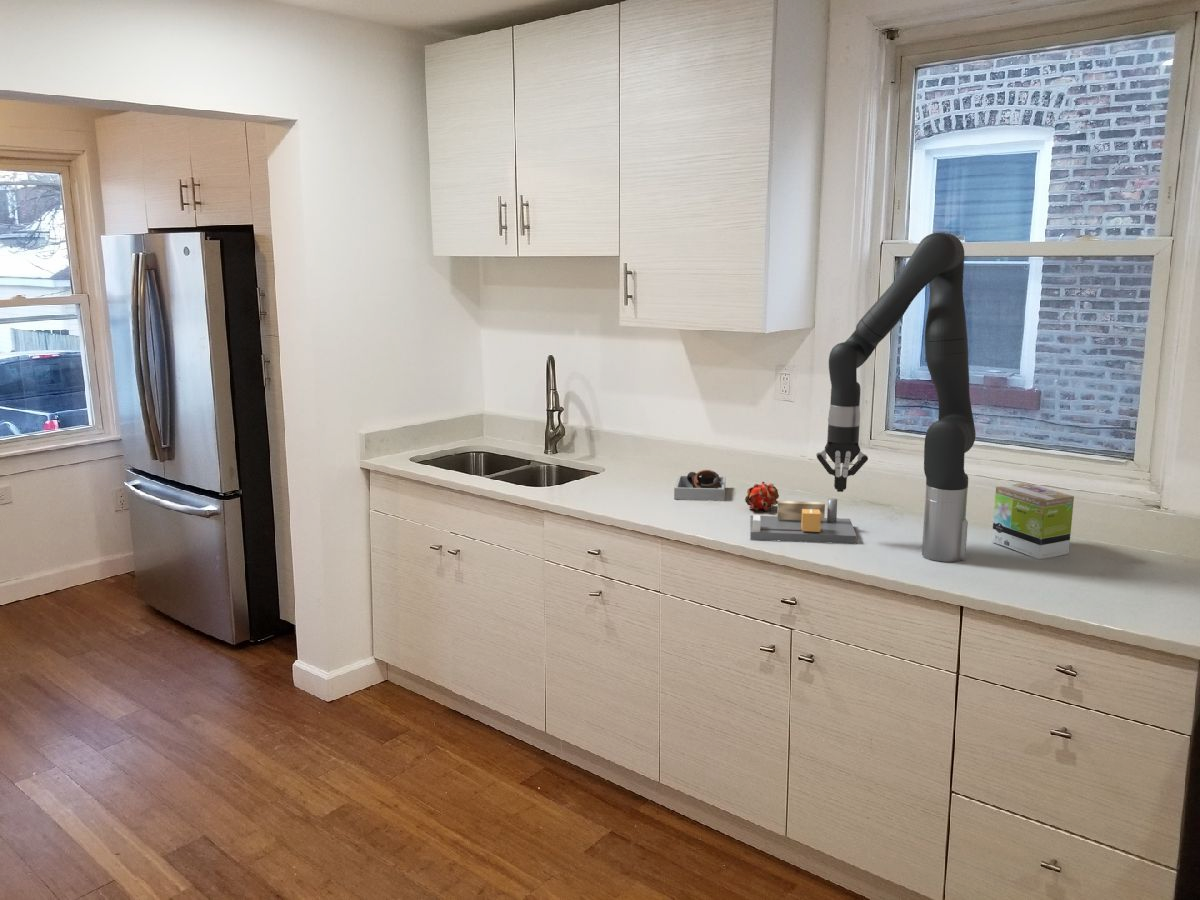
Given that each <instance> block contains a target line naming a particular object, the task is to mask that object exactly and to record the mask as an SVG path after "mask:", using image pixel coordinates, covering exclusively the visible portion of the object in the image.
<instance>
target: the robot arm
mask: <svg viewBox="0 0 1200 900" xmlns="http://www.w3.org/2000/svg"><path fill="white" fill-rule="evenodd" d="M964 267H965V249H964V245H963V243H962V241H961V240H960V239H959V237H957V236H956V235H954V234H953V233H952V234H951V233H946V232H934V233H930V234H927V235H926V236H925V237H923V238H922V239H921V240H920V242H919V244H918V245H917V247H916V248H915V250H914V251H913V253H912V254H911V255H910V258H909V259H908V261H907V262H906V264H905V265H904V267H903V268H902V270H900V273H899V274H898V275H897V276H896V278H895V279H894V280H893V282H892V283H891V285H890V286H888V288H887V289H886V290H885V292H884V293H883V294H882V295H881V296H880V297H879V298H878V299H877V300H876V301H875V303H874V304H873V305H872V306H871V307H870V309H868V311H867V312H866V313H865V314H864V315H863V316H862V317H861V318H860V319H859V321H858V322H857V324H856V325H855V330H854V331H853V332H852V333H851V335H850V336H849V337H848V338H847V339H846V340H845V341H843V342H840V343H837V344H835V345H834V346H833V347H832V349H831V350H830V352H829V356H828V371H829V378H830V385H831V387H830V388H831V389H830V404H829V410H828V417H827V422H828V423H827V425H828V426H827V441H826V442H827V443H826V444H825V446H824V449H823V450H822V451H820V452H817V453H816V459H817V460H818V461H819V463H820V464H821V465H822V467H823V468H824V469H825V472H827V474H829V475H832V476H834V480H833V482H834V483H833V484H834V485H833V486H834V489H835V490H836V492H837V493H843V492H844V490H845V491H846V489H847V485H848V484H847V482H848V481H847V480H848V477H850V476H854V475H856V473H858V471H859V470H860V469H861V468H862V467H863V466H864V465H865V464H866V462H867V461H868V460H869V457H868V455H867V454H864V453H863V452H862V451H861V447H860V444H859V442H860V441H859V439H860V424H861V422H860V421H861V385H860V383H859V382H858V379H857V377H858V375H857V369H859V368H860V367H861V366H863V364H864V363H865V362H866V361H867V360H868V359H869V358H870V356H871V355H872V354H873V352H874V351H875V349H876V348H877V347H878V345H879V343H880V342H882V341H883V339H885V337H886V336H887V335H888V334H889V333H890V332H891V331H892V330H893V329H894V328H895V327H896V325H897V324H898V323H899V322H900V320H901V319H902V318H903V316H904V314H905V313H906V312H907V310H908V309H909V307H910V306H911V304H912V303H913V300H914V299H915V298H916V297H917V296H918V295H919V293H920V292H921V291H922V290H923V289H924V288H925V287H926V286H927V285H929V304H928V305H929V306H928V311H927V316H926V321H925V329H924V348H925V360H926V361H925V362H926V365H927V369H928V372H929V375H930V377H931V380H932V383H933V385H934V387H935V390H936V394H937V400H938V401H937V402H938V420H937V421H935V422H933V423H931V425H930V426H929V427H928V429H927V430H926V433H925V437H924V446H923V447H924V449H923V450H924V451H923V455H924V456H923V471H924V472H923V473H924V476H925V496H924V512H923V514H924V515H923V527H922V529H923V530H922V545H921V555H922V556H923V558H926V559H928V560H930V561H931V560H932V561H935V562H936V561H937V562H944V563H948V562H950V563H951V562H959V561H966V554H967V553H966V551H967V541H968V540H967V537H968V523H969V522H968V520H967V519H966V516H967V502H968V488H969V476H968V474H967V473H966V471H965V454H966V453H968V452H969V451H970V450H971V449H972V447H973V445H974V444H975V441H976V427H975V422H974V415H973V410H972V404H971V402H972V401H971V396H970V395H971V394H970V372H969V371H970V369H969V367H970V366H969V343H968V332H967V318H966V309H965V301H964V291H963V290H964V287H963V286H964V270H965V269H964ZM827 456H828V457H829V458H830V460H831V462H832V463H834V465H833V466H834V469H833V468H832V467H831V465H830V464H829V462H828V461H827V458H828V457H827ZM856 457H857V458H856ZM855 459H857V460H856V462H855V463H854V464H852V466H851V467H850V464H851V463H852V462H853V461H854V460H855ZM841 464H842V466H841ZM841 467H842V468H841Z"/></svg>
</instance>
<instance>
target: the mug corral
mask: <svg viewBox="0 0 1200 900" xmlns="http://www.w3.org/2000/svg"><path fill="white" fill-rule="evenodd" d="M699 477H701V476H699ZM719 478H720V479H721V481H719V482H720V484H721V486H722V487H719V488H718V489H715V488H693V486H692V485H691V484H690V483H689V481H688V479H687V475H678V476H677V478H676V480H675V481H676V482H675V485H674V489H673V494H674V495H673V500H675V499H679V501H680V500H681V501H708V500H714V501H713V502H715V501H716V502H717V500H720V501H719V502H724V501H725V495H726V479H727V478H726V476H719ZM716 479H717V478H714V481H713V482H715V481H716Z"/></svg>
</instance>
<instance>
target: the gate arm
mask: <svg viewBox="0 0 1200 900" xmlns="http://www.w3.org/2000/svg"><path fill="white" fill-rule="evenodd" d="M777 501H778V504H777V512H776V514H777V515H776V516H777V519H784V520H802V509H819V510H820V513H821V521H824V518H825V516H826V515H825V513H826V512H825V511H826V503H825V502H824V501H799V500H798V501H797V500H794V501H793V500H777Z"/></svg>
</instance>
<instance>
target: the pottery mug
mask: <svg viewBox="0 0 1200 900" xmlns="http://www.w3.org/2000/svg"><path fill="white" fill-rule="evenodd" d="M686 476H687V479H688V481H689V483H690V484H691V485H692V486H693V487H692V488H715V489H720V488H719V487H722V486H721V484H720V482H719V481H721V479H720V478H719V477H720V476H719V474H718V472H716V471H713V470H711V469H702V470H700V471H697V472H695V471H690V472H688V474H687V475H686ZM699 476H701V477H699ZM714 478H717V479H716V481H715V482H713V481H714Z"/></svg>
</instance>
